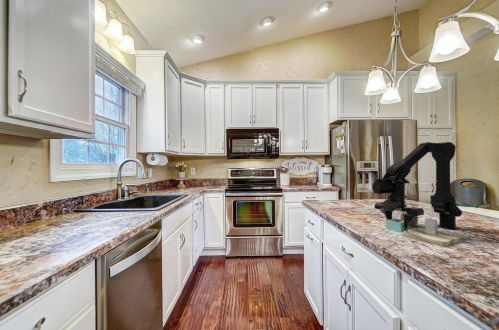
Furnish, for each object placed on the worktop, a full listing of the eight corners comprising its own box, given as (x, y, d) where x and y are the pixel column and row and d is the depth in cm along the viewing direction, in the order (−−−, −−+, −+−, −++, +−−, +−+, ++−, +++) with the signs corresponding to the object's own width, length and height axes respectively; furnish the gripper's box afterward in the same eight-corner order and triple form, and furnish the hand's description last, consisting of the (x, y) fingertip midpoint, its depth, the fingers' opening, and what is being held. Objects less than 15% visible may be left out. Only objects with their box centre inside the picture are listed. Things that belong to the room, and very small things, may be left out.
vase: (421, 228, 101) (421, 209, 101) (404, 227, 103) (404, 209, 103) (413, 224, 108) (413, 206, 108) (397, 223, 110) (397, 206, 110)
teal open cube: (394, 226, 104) (394, 217, 104) (409, 230, 98) (409, 220, 98) (386, 228, 101) (386, 219, 101) (400, 232, 96) (400, 222, 96)
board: (421, 230, 98) (421, 227, 98) (462, 240, 85) (462, 236, 85) (401, 235, 91) (401, 232, 91) (443, 246, 78) (443, 242, 78)
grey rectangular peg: (427, 232, 90) (427, 218, 90) (437, 235, 87) (437, 220, 87) (425, 233, 89) (425, 218, 89) (435, 235, 86) (435, 220, 86)
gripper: (366, 192, 105) (367, 224, 105) (409, 197, 88) (409, 235, 88) (381, 190, 110) (381, 221, 110) (424, 195, 93) (424, 231, 93)
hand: (397, 227), depth 100 cm, fingers closed on teal open cube, 6 cm apart
